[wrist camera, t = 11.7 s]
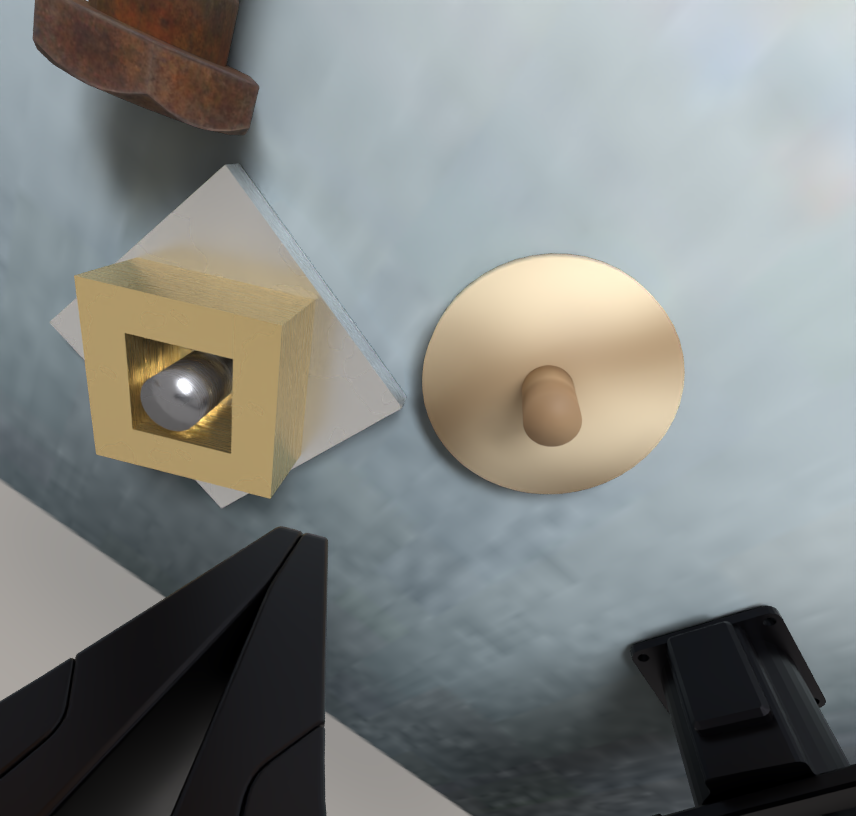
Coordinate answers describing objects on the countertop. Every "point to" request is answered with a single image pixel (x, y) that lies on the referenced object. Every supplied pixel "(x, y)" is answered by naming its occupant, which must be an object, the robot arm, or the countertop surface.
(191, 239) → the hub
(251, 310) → the brass square sleeve
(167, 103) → the bolt
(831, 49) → the countertop surface
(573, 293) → the stand
